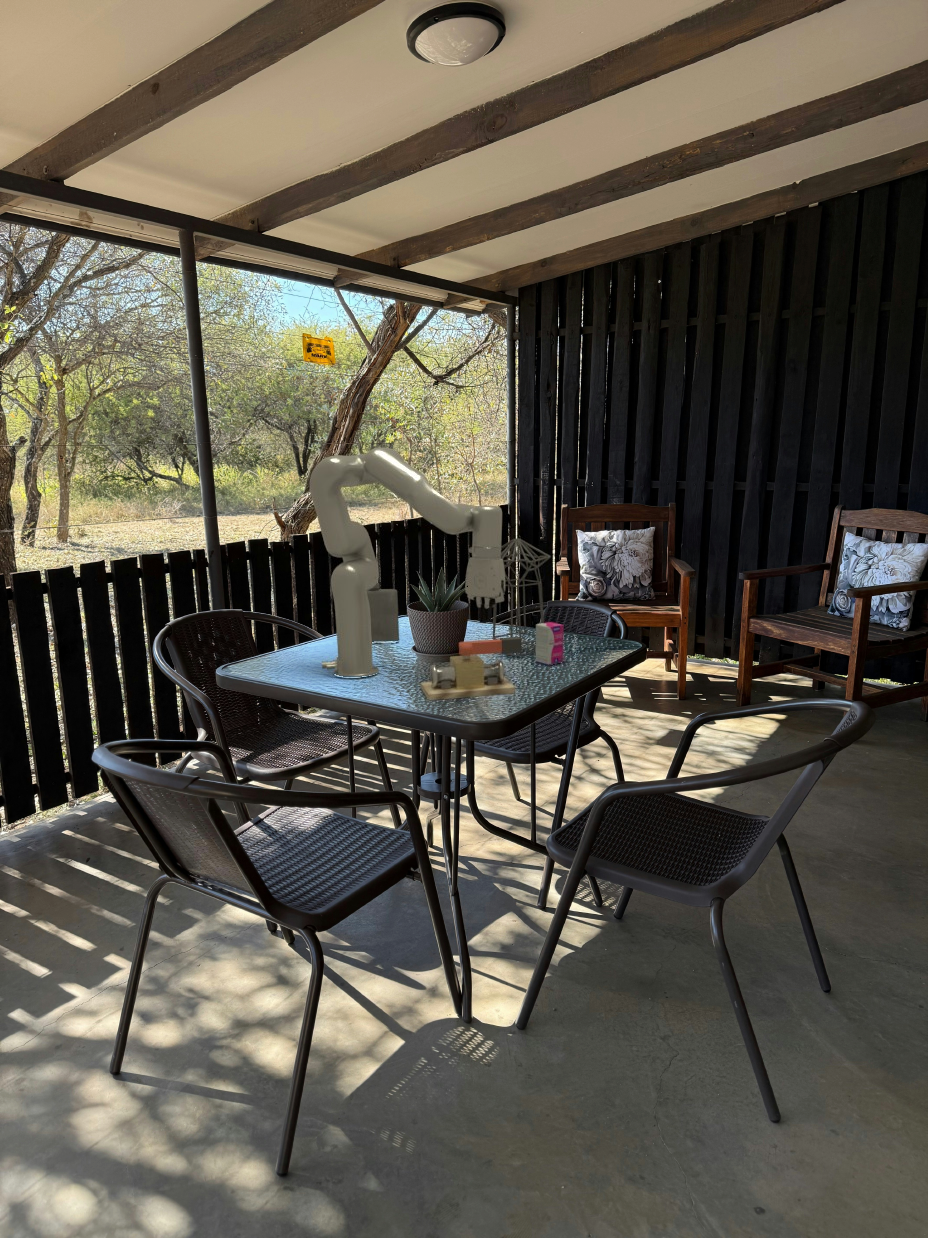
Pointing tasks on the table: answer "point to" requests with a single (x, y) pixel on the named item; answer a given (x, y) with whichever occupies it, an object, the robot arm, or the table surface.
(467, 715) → the table surface
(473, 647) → the valve lever
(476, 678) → the pipe valve
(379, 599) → the flask
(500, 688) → the mounting board
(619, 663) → the table surface
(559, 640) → the supplement box
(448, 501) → the robot arm
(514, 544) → the geometric lantern
